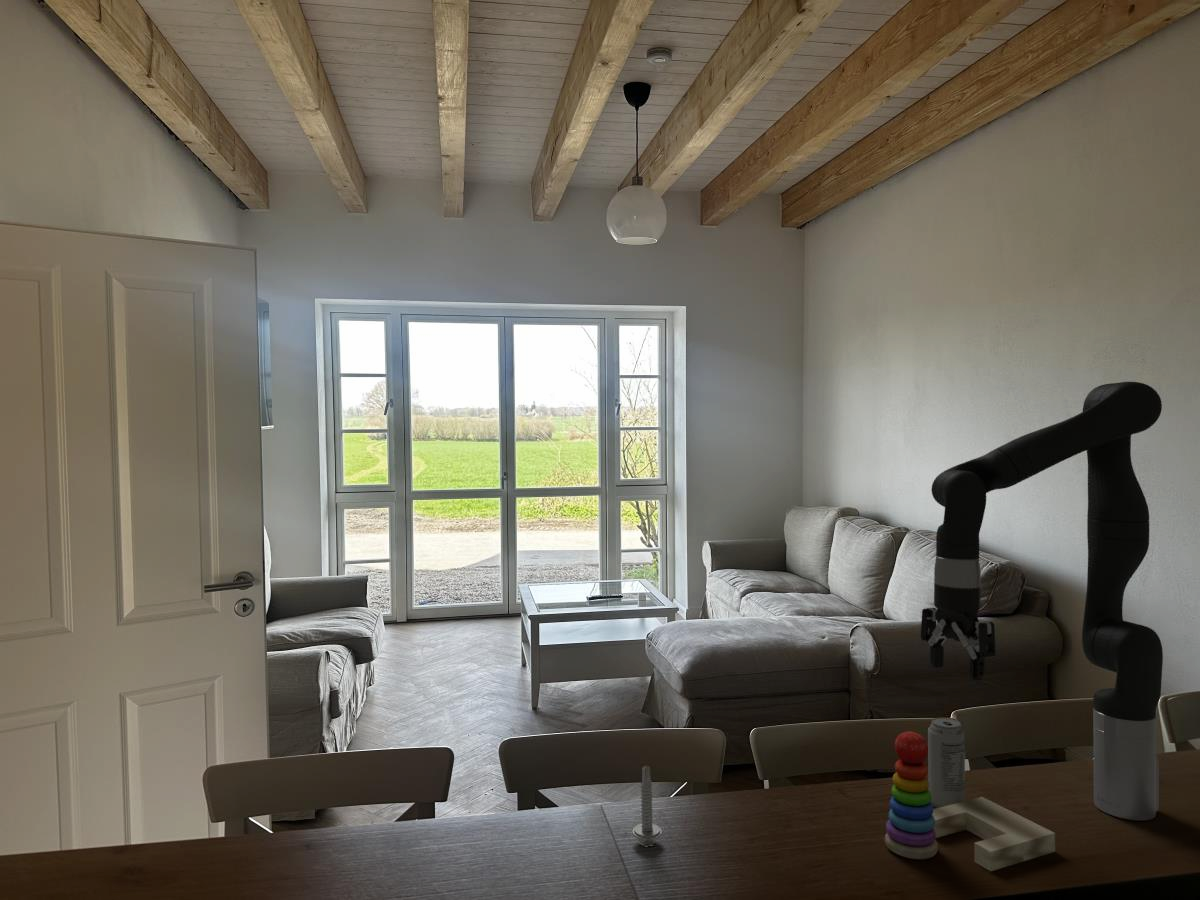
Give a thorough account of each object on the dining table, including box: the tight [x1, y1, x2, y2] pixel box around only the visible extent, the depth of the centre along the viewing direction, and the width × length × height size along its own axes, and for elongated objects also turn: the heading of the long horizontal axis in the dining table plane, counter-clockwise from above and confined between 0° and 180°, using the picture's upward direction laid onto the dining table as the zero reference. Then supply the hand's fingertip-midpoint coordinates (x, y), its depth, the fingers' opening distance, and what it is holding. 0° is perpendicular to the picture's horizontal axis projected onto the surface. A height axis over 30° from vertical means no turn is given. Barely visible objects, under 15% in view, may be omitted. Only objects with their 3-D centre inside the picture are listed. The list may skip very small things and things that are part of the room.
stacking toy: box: [884, 730, 939, 860], centre depth 128 cm, size 8×8×19 cm
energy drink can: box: [927, 717, 966, 809], centre depth 143 cm, size 6×6×15 cm
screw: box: [631, 765, 663, 846], centre depth 131 cm, size 13×5×5 cm
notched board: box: [932, 796, 1056, 872], centre depth 130 cm, size 14×14×3 cm
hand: (956, 673), depth 141 cm, fingers open, 8 cm apart
